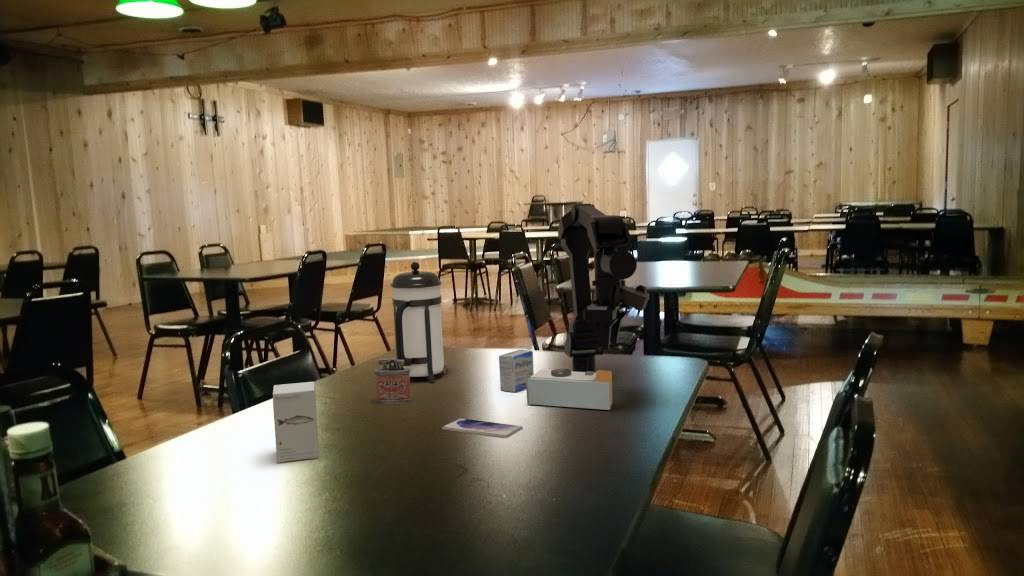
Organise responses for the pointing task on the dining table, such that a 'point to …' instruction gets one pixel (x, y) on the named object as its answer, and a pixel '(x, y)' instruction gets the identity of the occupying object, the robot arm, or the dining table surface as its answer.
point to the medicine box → (515, 370)
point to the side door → (572, 392)
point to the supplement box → (295, 421)
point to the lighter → (393, 382)
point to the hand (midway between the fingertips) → (609, 347)
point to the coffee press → (418, 322)
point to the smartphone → (482, 428)
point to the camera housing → (565, 375)
